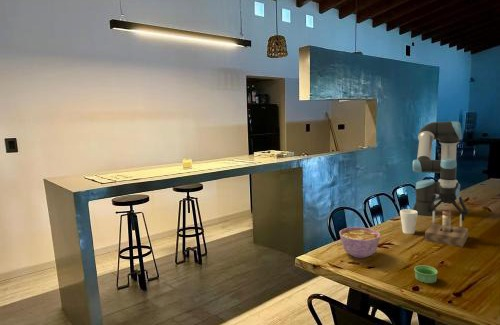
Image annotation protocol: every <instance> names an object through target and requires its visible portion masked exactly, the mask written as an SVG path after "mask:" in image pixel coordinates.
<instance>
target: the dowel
mask: <svg viewBox="0 0 500 325" xmlns="http://www.w3.org/2000/svg"><path fill="white" fill-rule="evenodd" d="M441 214H442V220H441V221H442V222H441V225H442V231H444V232H450V233H451V226H452V225H451V224H452V223H451V220H452V211H451V210H446V209H445V210H442V213H441Z"/></svg>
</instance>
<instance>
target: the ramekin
mask: <svg viewBox="0 0 500 325" xmlns="http://www.w3.org/2000/svg"><path fill="white" fill-rule="evenodd" d="M413 268H414V277H415V279H416V281H418V280H419V282H420V281H421V282H420V283H423V282H424V283H423V284H429V283H430V284H435V283H436V282H437V276H438V273H439V272H438V270H437V269H436V268H435V267H433V266H430V265H424V264H423V265H420V264H419V265H416V266H415V267H413ZM434 282H435V283H434Z"/></svg>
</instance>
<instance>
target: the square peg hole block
mask: <svg viewBox="0 0 500 325" xmlns="http://www.w3.org/2000/svg"><path fill="white" fill-rule="evenodd" d="M468 237H469V228H467V227H462V226H461V227H460V226H454V225H451V233H450V232H444V231H442V223H441V224H439V223H435V222H434V223H431V225H430V226H429V227H427V229H426V230H425V232H424V241H426V242H431V243H437V244H442V245H448V246H453V247H460V248H464V245H465V244H466V242H467V239H468Z"/></svg>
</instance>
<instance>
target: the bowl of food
mask: <svg viewBox="0 0 500 325" xmlns="http://www.w3.org/2000/svg"><path fill="white" fill-rule="evenodd" d="M339 236H340V240H341V244H342V247H343V250H345V252H346V253H347V254H348V255H350V256H352V257H354V258H357V257H358V259H365V258H368V257H369V256H372V255H375V253H376V252H377V248H378V246H379V242H380V238H381V233H380V232H379V231H377V230H376V229H372V228H370V227H369V228H368V227H362V226H352V227H351V226H350V227H346V228H343V229H341V230H339Z"/></svg>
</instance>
